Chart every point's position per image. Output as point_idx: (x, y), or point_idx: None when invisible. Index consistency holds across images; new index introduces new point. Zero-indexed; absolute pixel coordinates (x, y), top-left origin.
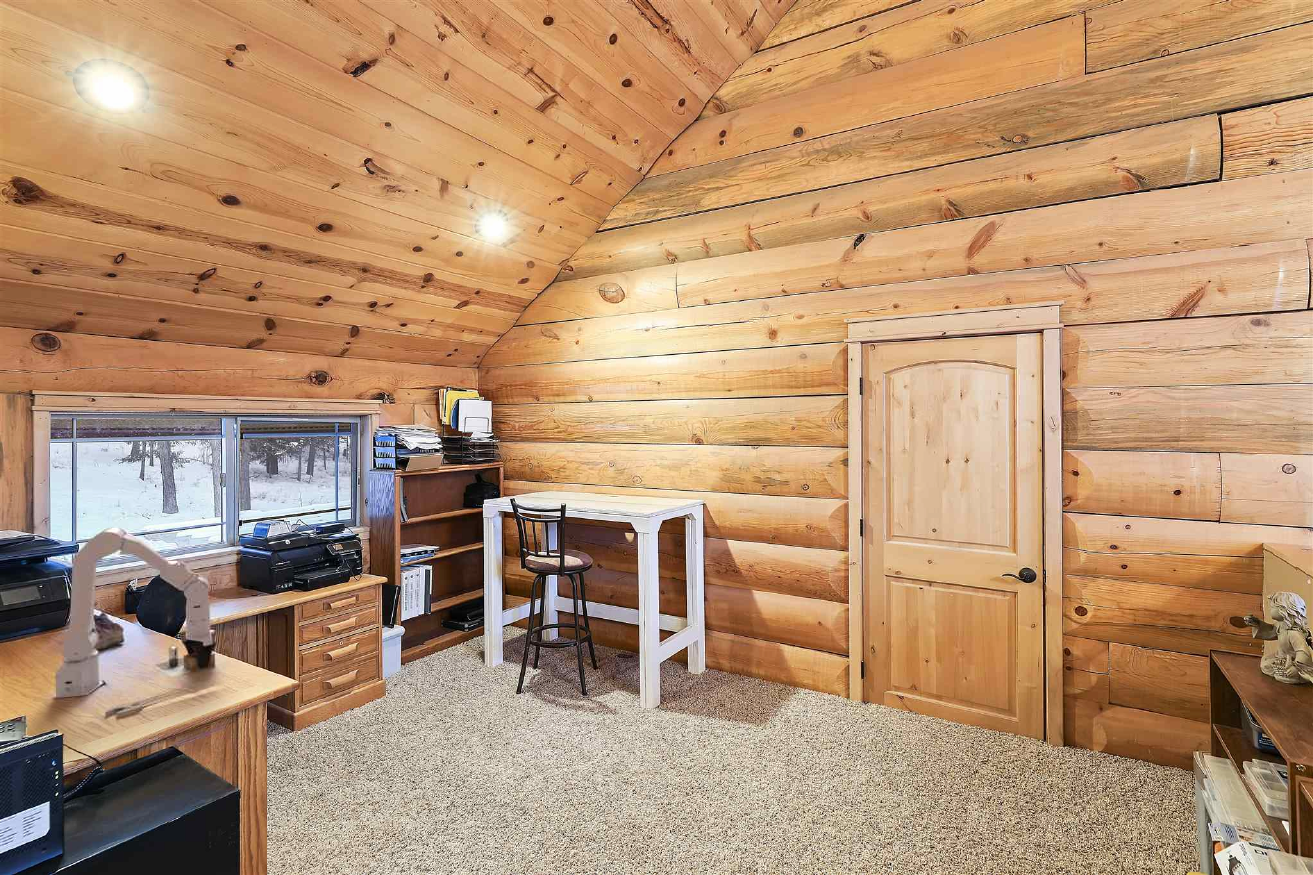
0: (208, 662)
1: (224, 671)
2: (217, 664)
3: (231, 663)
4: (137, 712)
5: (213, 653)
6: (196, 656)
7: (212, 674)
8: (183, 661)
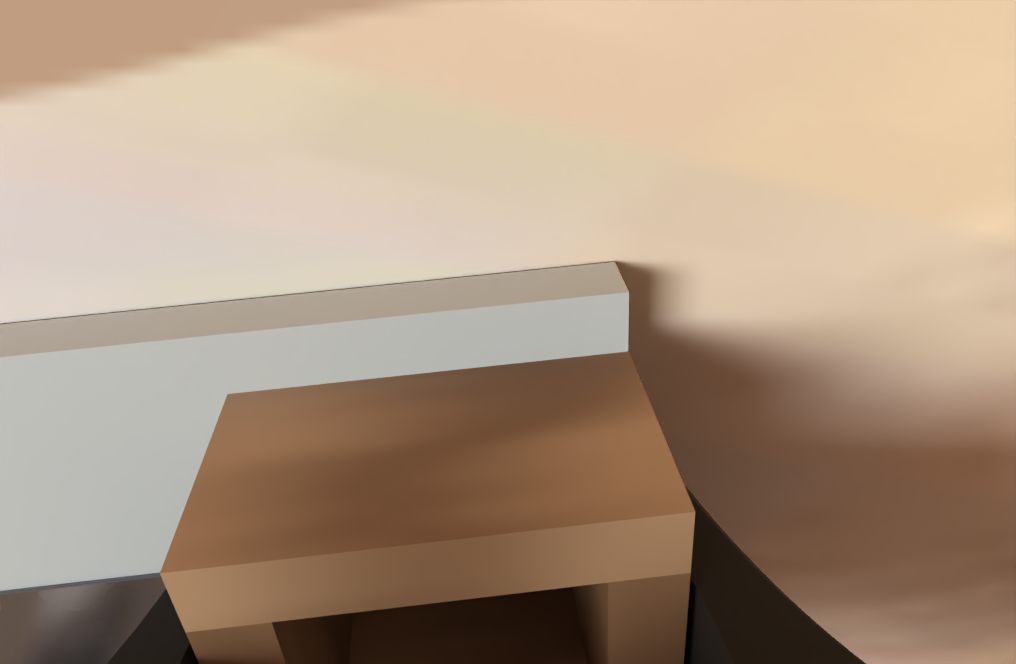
0: (698, 509)
1: (911, 246)
2: (628, 314)
3: (571, 25)
4: None
5: (647, 526)
6: (314, 658)
7: (862, 397)
8: (17, 639)
